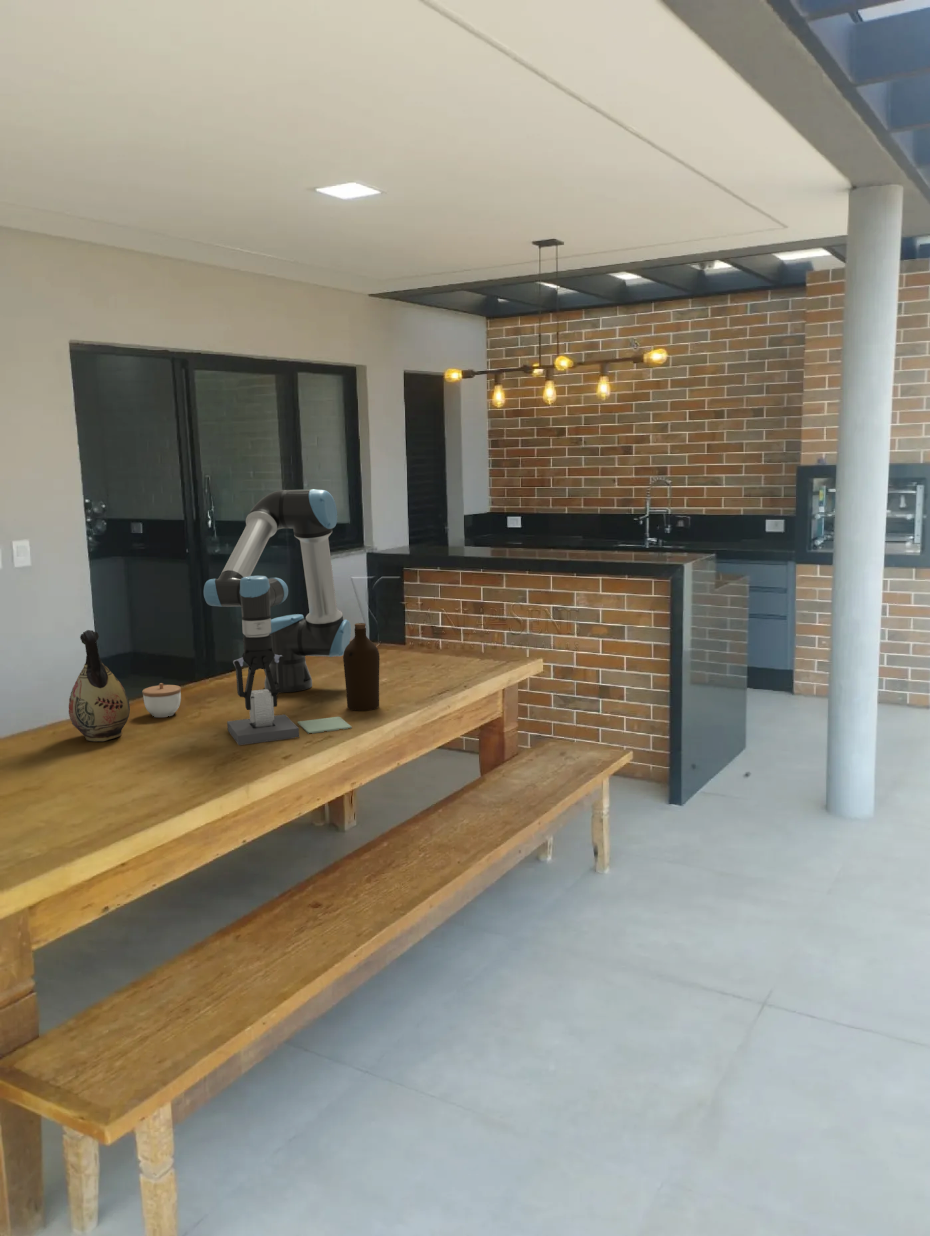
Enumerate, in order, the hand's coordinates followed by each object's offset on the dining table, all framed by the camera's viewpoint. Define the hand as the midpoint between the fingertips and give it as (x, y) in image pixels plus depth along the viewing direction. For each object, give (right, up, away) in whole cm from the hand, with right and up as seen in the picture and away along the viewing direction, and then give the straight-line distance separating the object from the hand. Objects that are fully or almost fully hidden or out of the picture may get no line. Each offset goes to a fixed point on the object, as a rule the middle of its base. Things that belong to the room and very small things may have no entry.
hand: (262, 719), depth 269 cm
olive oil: (+25, +1, +27) cm, 36 cm away
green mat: (+16, -2, +7) cm, 17 cm away
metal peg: (0, -4, +1) cm, 4 cm away
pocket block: (0, -4, +1) cm, 4 cm away
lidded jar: (-34, -1, +23) cm, 41 cm away
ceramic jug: (-43, -5, 0) cm, 43 cm away
